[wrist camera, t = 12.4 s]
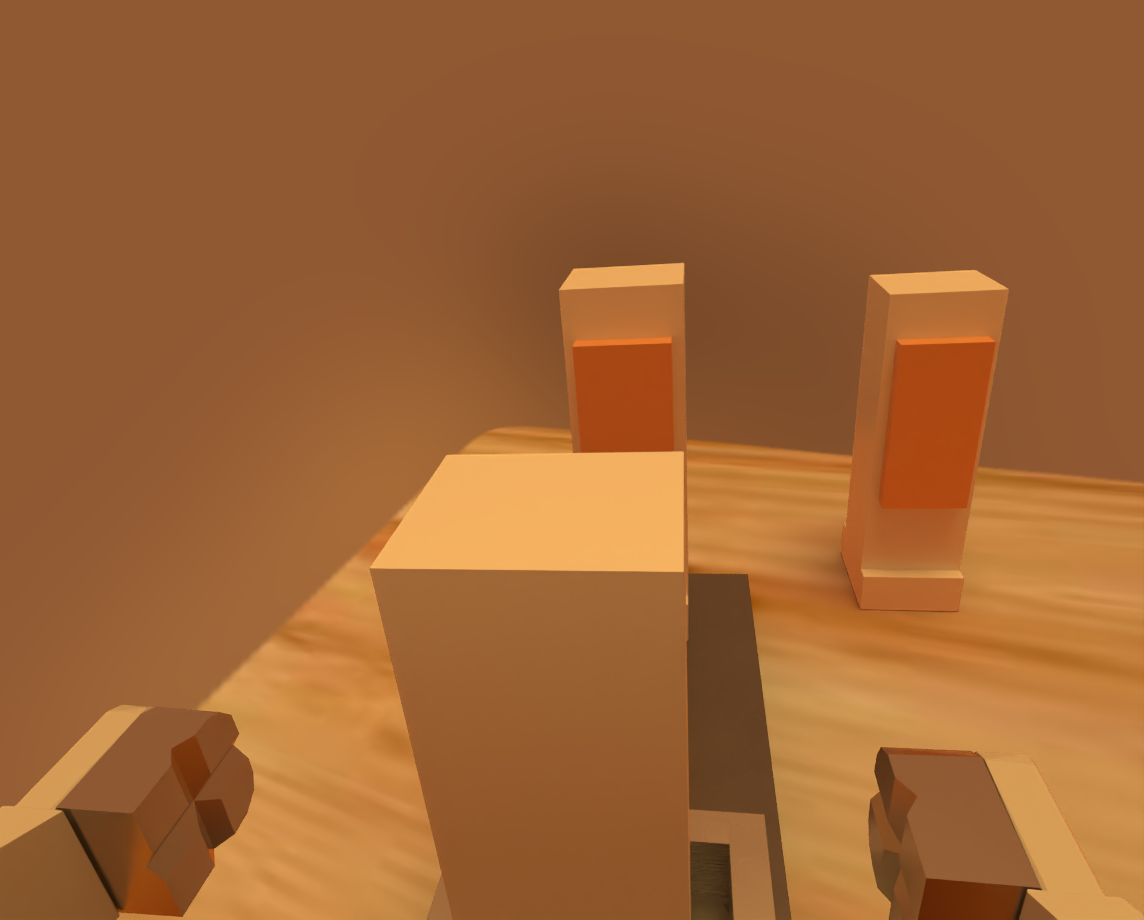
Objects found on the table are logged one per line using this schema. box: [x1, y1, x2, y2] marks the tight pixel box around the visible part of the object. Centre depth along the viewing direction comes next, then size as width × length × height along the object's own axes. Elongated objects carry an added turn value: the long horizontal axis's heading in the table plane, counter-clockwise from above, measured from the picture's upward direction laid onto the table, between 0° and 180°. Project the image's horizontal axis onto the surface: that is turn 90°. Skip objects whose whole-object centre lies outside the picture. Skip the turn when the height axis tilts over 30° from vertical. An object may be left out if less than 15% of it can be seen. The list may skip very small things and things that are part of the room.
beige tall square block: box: [370, 451, 691, 920], centre depth 12 cm, size 4×4×12 cm
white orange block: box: [841, 270, 1009, 611], centre depth 27 cm, size 4×4×12 cm
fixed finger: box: [559, 263, 688, 641], centre depth 24 cm, size 4×4×12 cm
